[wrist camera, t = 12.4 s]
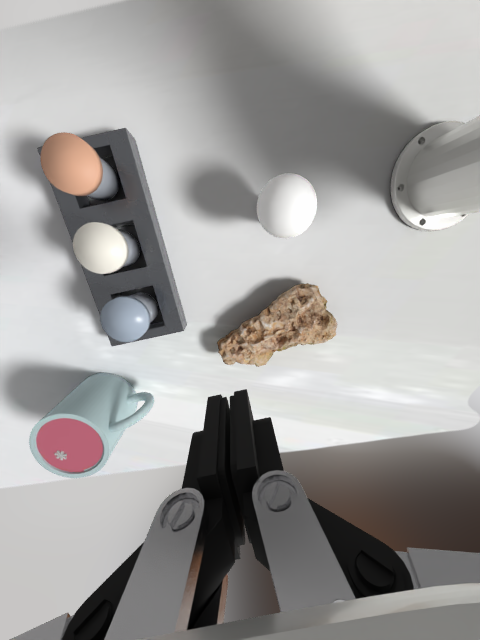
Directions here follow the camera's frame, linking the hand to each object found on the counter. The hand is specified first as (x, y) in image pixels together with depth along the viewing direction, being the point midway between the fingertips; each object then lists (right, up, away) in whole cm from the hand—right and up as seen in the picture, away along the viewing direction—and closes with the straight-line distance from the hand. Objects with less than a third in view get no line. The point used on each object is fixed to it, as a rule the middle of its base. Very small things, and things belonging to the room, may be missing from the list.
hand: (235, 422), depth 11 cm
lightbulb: (+5, +18, +23) cm, 30 cm away
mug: (-18, -7, +29) cm, 35 cm away
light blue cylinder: (-13, +6, +24) cm, 28 cm away
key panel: (-15, +14, +23) cm, 31 cm away
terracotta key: (-16, +21, +20) cm, 33 cm away
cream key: (-15, +13, +22) cm, 30 cm away
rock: (+6, +3, +28) cm, 29 cm away
